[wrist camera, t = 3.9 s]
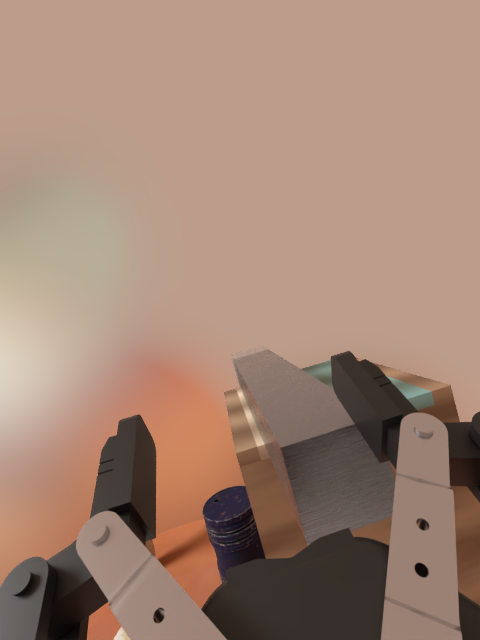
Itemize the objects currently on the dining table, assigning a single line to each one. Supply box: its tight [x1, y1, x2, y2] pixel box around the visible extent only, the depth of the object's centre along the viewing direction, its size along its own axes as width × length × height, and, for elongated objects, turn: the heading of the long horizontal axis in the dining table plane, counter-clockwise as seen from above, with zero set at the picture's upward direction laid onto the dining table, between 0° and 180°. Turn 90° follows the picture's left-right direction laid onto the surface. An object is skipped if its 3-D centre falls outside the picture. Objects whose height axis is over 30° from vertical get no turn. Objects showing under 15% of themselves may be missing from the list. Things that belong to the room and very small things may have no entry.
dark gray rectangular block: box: [231, 346, 395, 545], centre depth 27 cm, size 28×4×4 cm, turn 5°
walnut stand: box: [224, 358, 480, 605], centre depth 33 cm, size 18×16×38 cm
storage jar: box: [203, 486, 266, 583], centre depth 59 cm, size 10×10×15 cm
